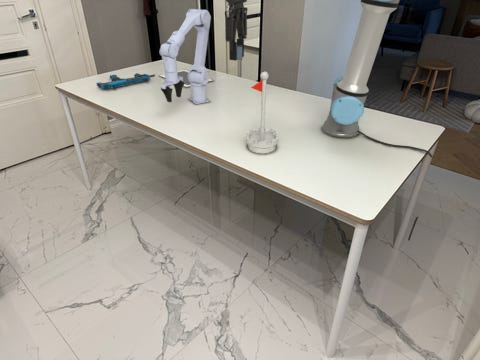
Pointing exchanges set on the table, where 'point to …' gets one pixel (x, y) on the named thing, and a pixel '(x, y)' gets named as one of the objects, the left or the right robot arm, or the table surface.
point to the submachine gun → (124, 81)
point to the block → (239, 52)
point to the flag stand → (262, 125)
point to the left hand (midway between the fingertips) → (174, 99)
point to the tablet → (185, 77)
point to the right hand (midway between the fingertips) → (236, 58)
